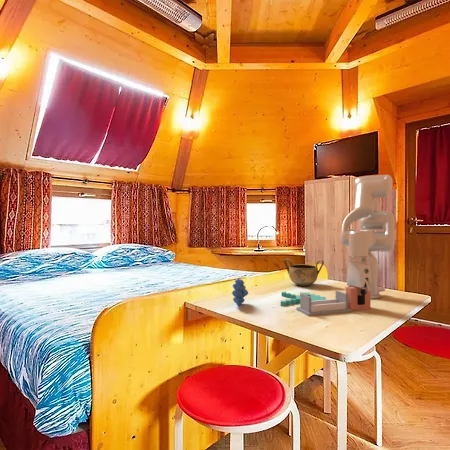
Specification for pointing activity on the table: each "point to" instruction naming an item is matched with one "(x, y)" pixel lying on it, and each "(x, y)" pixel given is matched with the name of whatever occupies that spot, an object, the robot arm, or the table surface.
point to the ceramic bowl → (303, 273)
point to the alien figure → (296, 298)
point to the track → (324, 305)
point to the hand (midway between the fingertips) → (358, 303)
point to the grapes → (239, 292)
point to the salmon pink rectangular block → (353, 298)
